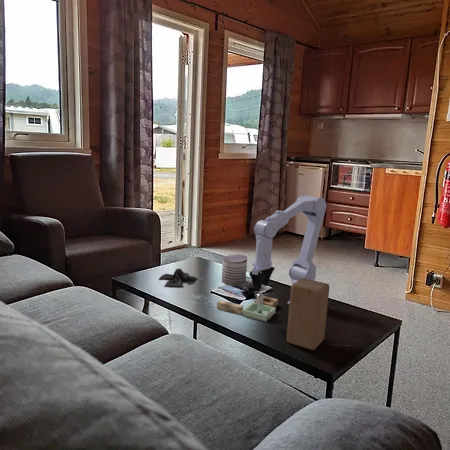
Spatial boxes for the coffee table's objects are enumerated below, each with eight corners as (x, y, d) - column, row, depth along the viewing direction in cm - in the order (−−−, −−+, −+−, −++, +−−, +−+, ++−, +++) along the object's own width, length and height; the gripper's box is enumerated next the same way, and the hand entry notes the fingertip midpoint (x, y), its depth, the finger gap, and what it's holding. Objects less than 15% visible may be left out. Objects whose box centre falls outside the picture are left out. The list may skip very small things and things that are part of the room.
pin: (263, 312, 159) (264, 294, 157) (260, 315, 157) (261, 296, 155) (257, 311, 160) (258, 292, 158) (254, 313, 158) (256, 294, 156)
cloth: (169, 291, 179) (169, 277, 178) (150, 278, 193) (150, 266, 192) (212, 283, 192) (213, 270, 190) (191, 272, 206) (192, 260, 205)
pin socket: (277, 304, 169) (277, 299, 168) (271, 310, 162) (271, 304, 162) (261, 301, 172) (261, 295, 171) (254, 306, 165) (254, 300, 165)
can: (248, 286, 189) (249, 260, 187) (223, 286, 187) (224, 260, 185) (243, 278, 200) (245, 253, 198) (220, 277, 198) (221, 253, 196)
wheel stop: (243, 312, 159) (243, 305, 159) (240, 314, 157) (240, 307, 157) (219, 306, 164) (220, 300, 163) (216, 308, 162) (217, 302, 161)
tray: (275, 313, 160) (275, 307, 160) (266, 321, 152) (266, 315, 152) (252, 307, 164) (253, 302, 164) (242, 315, 156) (243, 310, 156)
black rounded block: (261, 301, 173) (262, 291, 172) (244, 302, 171) (245, 291, 170) (253, 290, 185) (254, 280, 184) (237, 291, 183) (238, 281, 182)
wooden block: (314, 352, 131) (320, 291, 128) (284, 342, 137) (289, 284, 133) (324, 340, 140) (330, 283, 136) (296, 332, 145) (301, 276, 141)
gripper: (261, 247, 162) (258, 280, 164) (245, 255, 149) (243, 291, 152) (278, 250, 159) (275, 284, 161) (263, 258, 146) (261, 295, 149)
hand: (261, 288), depth 156 cm, fingers open, 7 cm apart
